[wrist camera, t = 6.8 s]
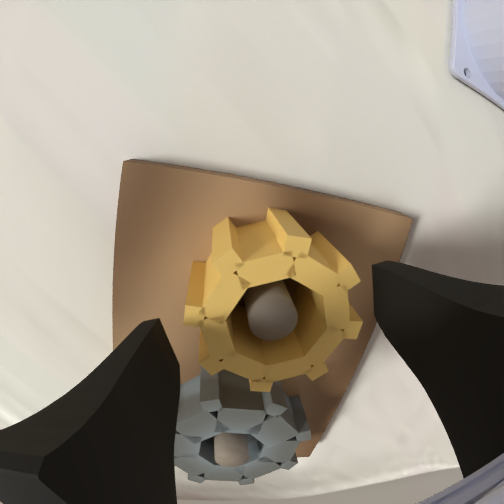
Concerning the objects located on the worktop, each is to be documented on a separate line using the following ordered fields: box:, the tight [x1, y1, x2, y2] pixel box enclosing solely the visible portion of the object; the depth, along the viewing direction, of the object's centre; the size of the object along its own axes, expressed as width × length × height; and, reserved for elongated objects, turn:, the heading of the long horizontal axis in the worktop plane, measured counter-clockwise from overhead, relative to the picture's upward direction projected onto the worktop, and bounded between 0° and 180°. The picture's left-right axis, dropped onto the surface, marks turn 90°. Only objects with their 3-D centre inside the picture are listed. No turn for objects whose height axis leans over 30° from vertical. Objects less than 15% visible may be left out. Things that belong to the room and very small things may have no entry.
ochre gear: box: [183, 207, 363, 392], centre depth 11 cm, size 6×6×4 cm
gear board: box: [113, 159, 413, 485], centre depth 14 cm, size 12×16×4 cm
